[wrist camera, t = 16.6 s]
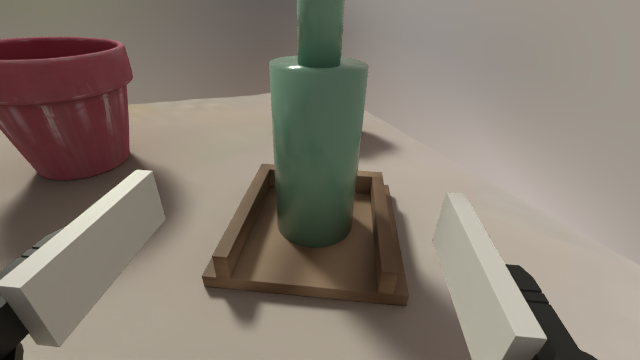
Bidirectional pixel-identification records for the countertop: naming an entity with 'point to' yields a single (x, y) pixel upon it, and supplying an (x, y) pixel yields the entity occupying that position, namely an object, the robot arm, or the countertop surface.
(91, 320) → the countertop surface
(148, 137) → the countertop surface
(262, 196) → the u rest
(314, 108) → the green bottle
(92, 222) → the robot arm
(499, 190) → the countertop surface
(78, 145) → the plant pot
